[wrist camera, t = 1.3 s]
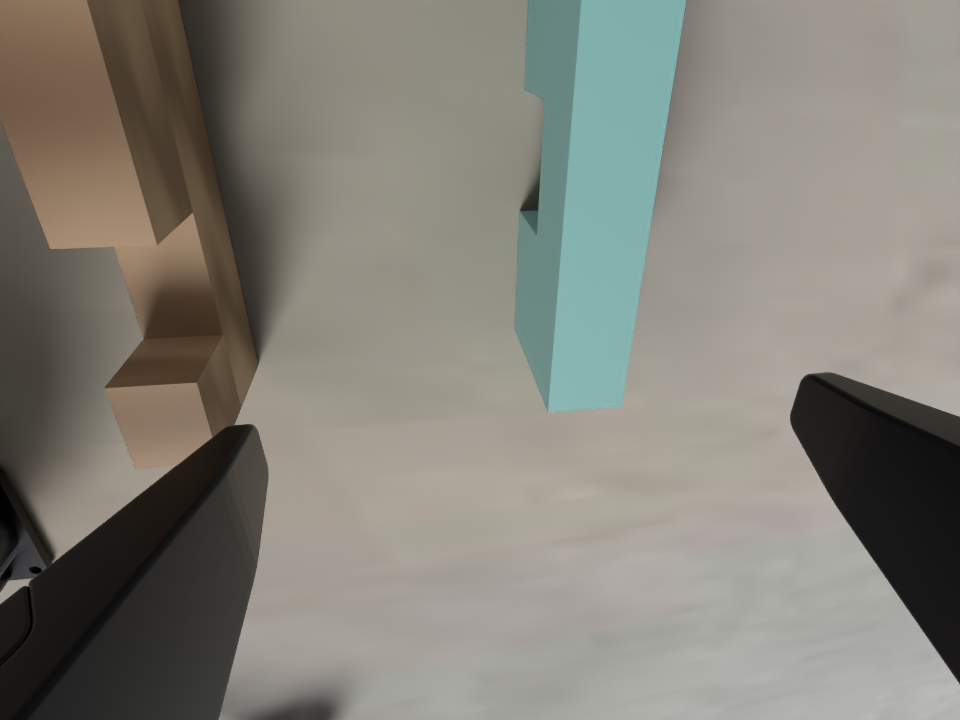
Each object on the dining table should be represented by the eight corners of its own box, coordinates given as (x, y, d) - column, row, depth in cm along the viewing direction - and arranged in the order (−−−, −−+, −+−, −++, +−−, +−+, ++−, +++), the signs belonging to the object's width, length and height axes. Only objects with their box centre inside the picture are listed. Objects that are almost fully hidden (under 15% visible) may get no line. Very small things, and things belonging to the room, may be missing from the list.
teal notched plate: (572, 325, 24) (621, 406, 19) (514, 329, 24) (548, 412, 19) (614, -94, 17) (709, -145, 12) (532, -96, 17) (593, -151, 12)
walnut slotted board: (258, 365, 23) (219, 461, 18) (193, 369, 23) (135, 468, 18) (92, -388, 13) (-103, -659, 8) (-27, -398, 13) (-312, -687, 8)
